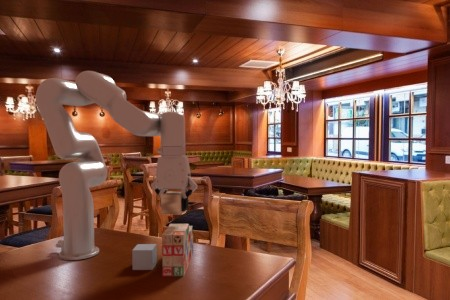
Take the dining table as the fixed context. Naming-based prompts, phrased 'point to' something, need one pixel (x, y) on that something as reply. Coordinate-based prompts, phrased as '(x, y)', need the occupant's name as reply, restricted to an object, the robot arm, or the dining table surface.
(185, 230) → the stack of blocks
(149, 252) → the bluegrey block
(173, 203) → the maple cube
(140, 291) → the dining table surface
